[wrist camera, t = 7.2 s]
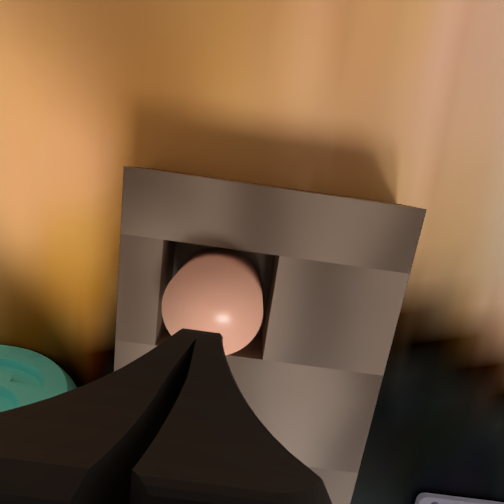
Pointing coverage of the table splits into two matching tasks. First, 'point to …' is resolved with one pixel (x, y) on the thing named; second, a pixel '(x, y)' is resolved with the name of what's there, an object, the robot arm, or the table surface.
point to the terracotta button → (216, 297)
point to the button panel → (280, 299)
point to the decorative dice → (29, 378)
